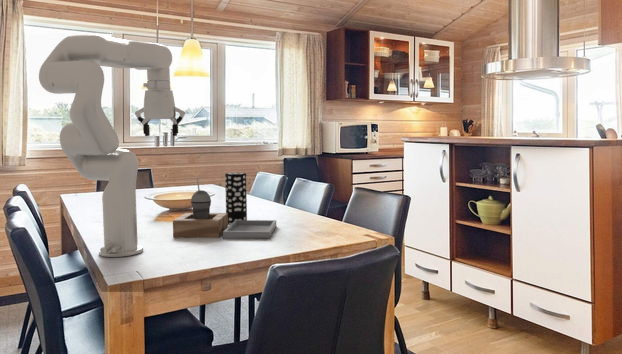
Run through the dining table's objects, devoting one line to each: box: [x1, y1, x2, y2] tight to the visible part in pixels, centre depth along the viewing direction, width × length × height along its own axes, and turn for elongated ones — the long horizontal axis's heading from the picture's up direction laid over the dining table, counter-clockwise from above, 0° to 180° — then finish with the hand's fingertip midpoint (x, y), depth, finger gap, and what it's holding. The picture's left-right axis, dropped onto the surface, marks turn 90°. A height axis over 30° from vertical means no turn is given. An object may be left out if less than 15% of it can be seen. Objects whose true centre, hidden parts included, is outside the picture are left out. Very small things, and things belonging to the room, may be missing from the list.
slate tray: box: [222, 219, 277, 240], centre depth 181 cm, size 22×16×2 cm
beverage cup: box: [190, 178, 212, 219], centre depth 180 cm, size 7×7×20 cm
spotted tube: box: [224, 172, 248, 226], centre depth 200 cm, size 8×8×20 cm
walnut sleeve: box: [172, 212, 229, 239], centre depth 181 cm, size 16×16×6 cm
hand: (161, 135), depth 174 cm, fingers open, 9 cm apart
